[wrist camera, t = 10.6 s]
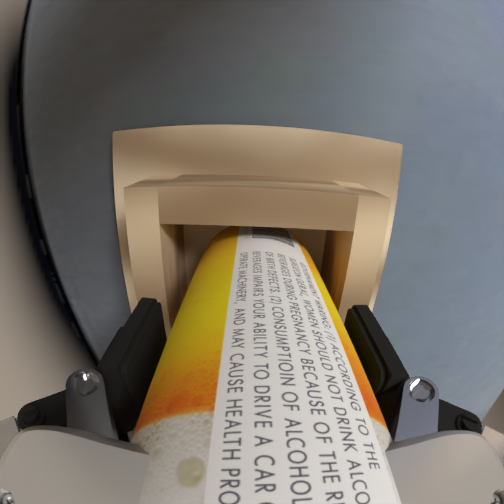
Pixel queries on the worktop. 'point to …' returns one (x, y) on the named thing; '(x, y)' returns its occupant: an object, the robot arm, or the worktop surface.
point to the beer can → (261, 388)
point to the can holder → (252, 203)
